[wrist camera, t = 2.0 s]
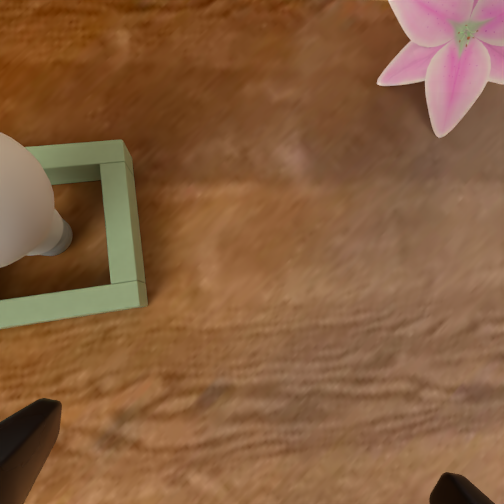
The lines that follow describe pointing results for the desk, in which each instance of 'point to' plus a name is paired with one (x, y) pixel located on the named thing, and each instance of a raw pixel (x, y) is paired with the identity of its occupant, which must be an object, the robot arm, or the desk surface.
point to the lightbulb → (27, 207)
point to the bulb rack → (117, 232)
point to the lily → (448, 54)
